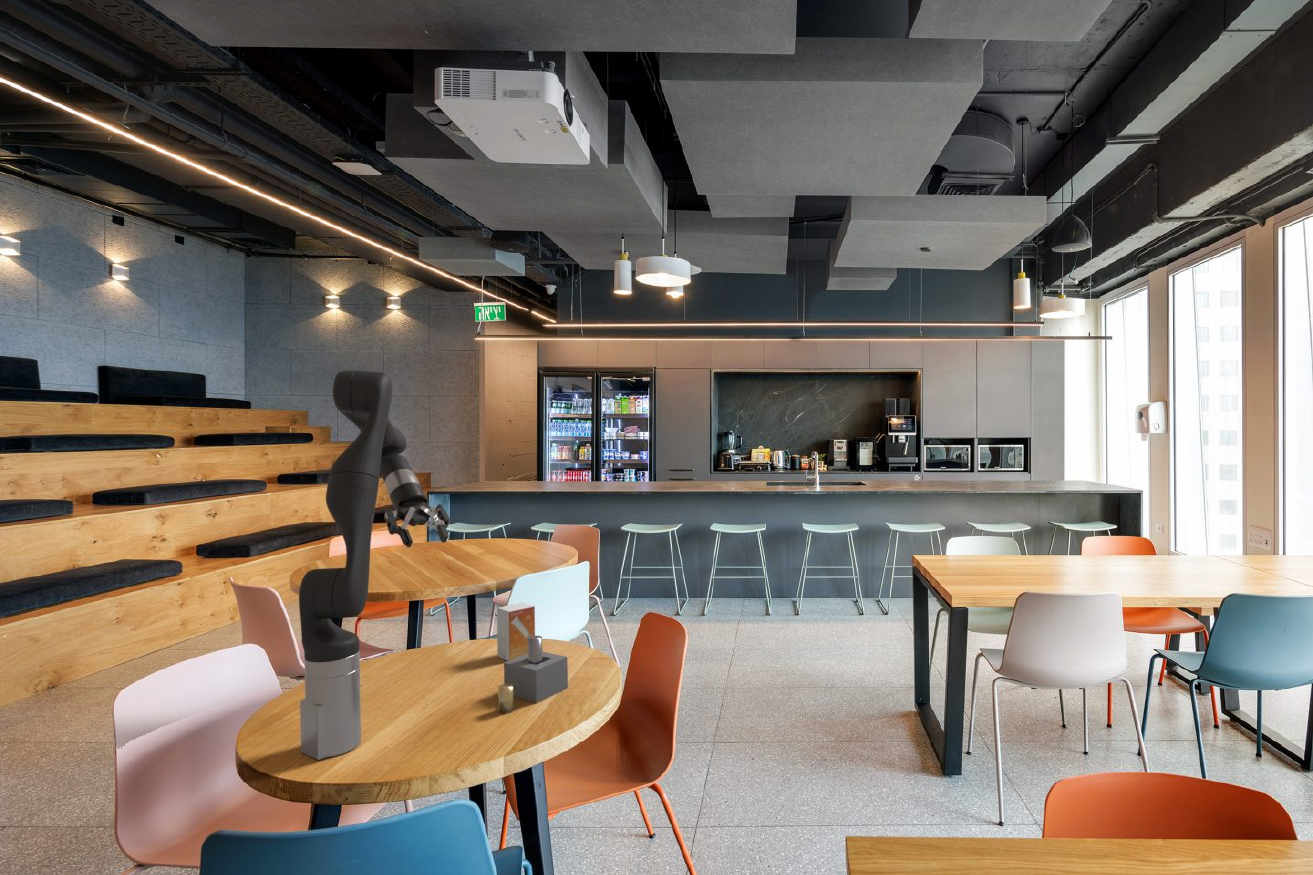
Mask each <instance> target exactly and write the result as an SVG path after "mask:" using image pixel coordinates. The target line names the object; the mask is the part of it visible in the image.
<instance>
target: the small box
mask: <svg viewBox="0 0 1313 875" xmlns="http://www.w3.org/2000/svg"><path fill="white" fill-rule="evenodd" d="M535 610H536V608H535V605H532V604H529V603H526V602H519V603H514V604H508V605H505V606H500V607H496V630H497V631H496V632H497V633H496V634H497V635H496V637H497V638H496V639H497V657H499V658H501V659H503V660H505V661H506V662H507V661H509V660H512V659H514V658H517V657H519V656H522V655H524V654H527V653H528V637H530V636H536V611H535Z"/></svg>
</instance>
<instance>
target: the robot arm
mask: <svg viewBox="0 0 1313 875" xmlns="http://www.w3.org/2000/svg"><path fill="white" fill-rule="evenodd" d="M392 397H393V382H392V379H391V376H390V375H389V374H387V373H386V372H380V371H370V370H369V371H368V370H353V369H352V370H341V371H339V372H338V373H337V374H335V377H334V380H333V383H332V398H333V403H334V405H335V407H336V409H337V410H338V411H339V412H340V413H341V414H342V415H343V416H344V417H345V418H346V419H347V420H349V421H350V422H351V423H352V424H354V425H355V426H356V427H357V428H358V430H359V431H360V433H359V435H358V436H357V437H356V438H355V439H354V440H353V441H352V442H351V443H350V444H349V445H348V446H347V448H345V449H344V450H343V452H342V453H341V454H339V456H338V457H337V458H336V460H334V462H333V463H332V465H331V468H330V471H329V474H328V479H327V485H326V486H327V487H326V494H325V503H326V506H327V510H328V512H329V513H330V515H331V517H332V520H333V521H334V523H335V525H336V526H337V528H338V529H339V532H340V534H341V536H342V538H343V541H344V544H345V552H346V559H345V566H344V567H332V568H330V567H329V568H325V567H324V568H314V569H311V570H309V571H307V572H306V573H305V574H304V576H303V577H302V579H301V582H300V584H299V585H300V586H299V592H298V608H299V618H300V619H299V621H300V633H301V636H300V637H301V645H302V648H303V651H304V653H303V654H304V657H303V658H304V698H303V699H301V700H300V703H299V704H300V705H299V707H300V708H299V709H300V711H299V712H300V753H303V754H304V755H306V756H309V757H310V758H313V759H316V760H318V761H320V760H322V759H325V758H330V757H335V756H340V755H342V754H346V753H348V752H350V751H352V750H354V749H355V748H357V747H358V746H359V745H360V744H361V742H362V715H361V714H362V708H361V707H362V706H361V702H362V701H361V654H360V653H361V652H360V651H361V650H360V649H361V648H360V637H359V636H358V635H357V633H354V632H352V631H349V630H347V629H344V628H342V627H340V626H338V625H336V624H335V623H334V622H333V620H332V619H348V618H357V617H358V616H359V615H361V614H362V612H363V611H364V609H365V607H366V603H367V599H368V595H369V586H370V585H369V582H370V562H371V561H370V560H371V544H372V534H373V533H372V532H373V523H374V518H375V512H376V510H375V509H376V505H377V504H376V503H377V498H378V493H379V485H380V477H381V478H382V481H383V482H384V485H385V489H386V492H387V495H388V497H389V499H390V501H391V504H392V506H393V508H394V510H393V509H392V508H386V511H385V514H384V516H383V518H384V521H385V524H386V526H387V530H388V532H389V535H392V536H393V535H398V536H399V537H400V540H401V541H402V544H403V546H406V548H411V547H412V546H413V543H414V541H413V537H412V536H411V534H410V532H409V529H407V528H408V526H411V527H417V526H424V525H425V526H426V527H429V528H433V529H434V530H436V533H437V535H438V537H439V539H440V541H441V543H442V544H443V543H444V544H445V543H446V542H447V541H448V539H449V537H450V536H449V533H448V532H449V531H448V530H447V528H448V527H449V524H450V522H452V521H451V519H450V516H449V515H448V513H447V511H446V509H445V508H444V506H443V504H442V503H438V504H437V505H436V506H430V505H429V503H428V499H427V496H426V495H425V492H424V490H423V488H422V486H421V483H420V482H419V480H418V478H417V476H416V475H415V473H414V472H413V470H412V467H411V465H410V462H409V461H408V460H407V458H406V457H405V456H404V455H401V454H402V453H404V452H405V450H406V449H407V443H408V442H407V439H406V437H405V435H404V434H403V433H402V432H403V431H401V430H400V429H399V428H397V427H396V426H394V425H393V423H392V422H391V420H390V418H389V413H390V409H391V403H392ZM396 518H398V519H399V520H401V521H402V523H401V525H399V524H398V523H397V520H396ZM429 519H431V520H429Z"/></svg>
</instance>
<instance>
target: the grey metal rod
mask: <svg viewBox="0 0 1313 875" xmlns="http://www.w3.org/2000/svg"><path fill="white" fill-rule="evenodd" d="M542 651H543V636H542V635H535V636H530V637H528V663H530V664H534V665H537V664H540V663H542V662H543V660H542Z"/></svg>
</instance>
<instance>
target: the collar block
mask: <svg viewBox="0 0 1313 875" xmlns="http://www.w3.org/2000/svg"><path fill="white" fill-rule="evenodd" d="M542 660H543V662H542V663H540V664H537V665H534V664H530V663H528V653H527V654H524V655H522V656H519V657H517V658H514V659H512V660H509V661H507V660H506V661H505V662H503V677H504V678H503V679H504V680H503V682H504V683H503V684H512V685H514V698H516V699H522V700H524V701H528V702H532V703H535V704H539V703H540V702H542V701H544V700H546V699H548V698H550V697H552V696H554V695H556V694H558V693H561V692H562V691H564V690H566V689H568V688H569V672H568V671H569V668H568V667H569V666H568V656H564V655H560V654H556V653H551V652H546V651H543V650H542Z"/></svg>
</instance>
